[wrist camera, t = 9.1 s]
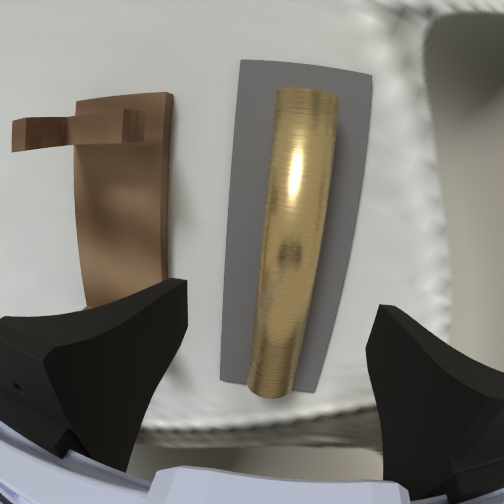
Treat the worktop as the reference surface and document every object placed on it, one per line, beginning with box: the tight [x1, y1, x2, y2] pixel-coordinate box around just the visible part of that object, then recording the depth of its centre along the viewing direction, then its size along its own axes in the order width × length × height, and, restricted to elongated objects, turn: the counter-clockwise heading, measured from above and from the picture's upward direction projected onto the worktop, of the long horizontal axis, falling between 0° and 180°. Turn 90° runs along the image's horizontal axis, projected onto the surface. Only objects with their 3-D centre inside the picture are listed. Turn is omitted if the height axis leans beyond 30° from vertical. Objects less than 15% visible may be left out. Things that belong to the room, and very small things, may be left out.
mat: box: [220, 60, 372, 393], centre depth 17 cm, size 21×7×1 cm, turn 175°
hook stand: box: [12, 92, 173, 310], centre depth 16 cm, size 17×6×6 cm, turn 175°
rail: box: [247, 88, 340, 399], centre depth 16 cm, size 17×3×3 cm, turn 175°
